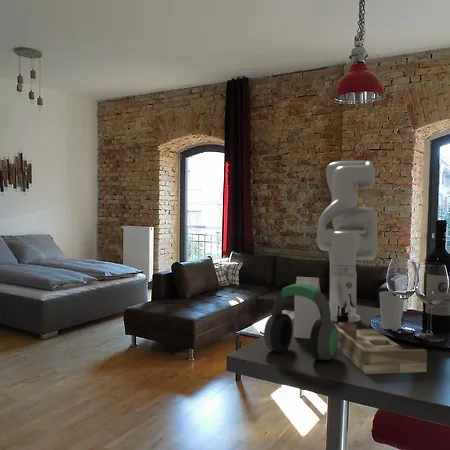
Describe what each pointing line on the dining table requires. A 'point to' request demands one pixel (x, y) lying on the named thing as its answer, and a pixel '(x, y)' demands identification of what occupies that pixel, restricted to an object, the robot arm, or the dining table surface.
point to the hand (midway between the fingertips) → (342, 327)
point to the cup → (390, 310)
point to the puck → (348, 328)
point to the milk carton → (305, 310)
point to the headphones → (282, 326)
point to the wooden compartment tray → (380, 353)
